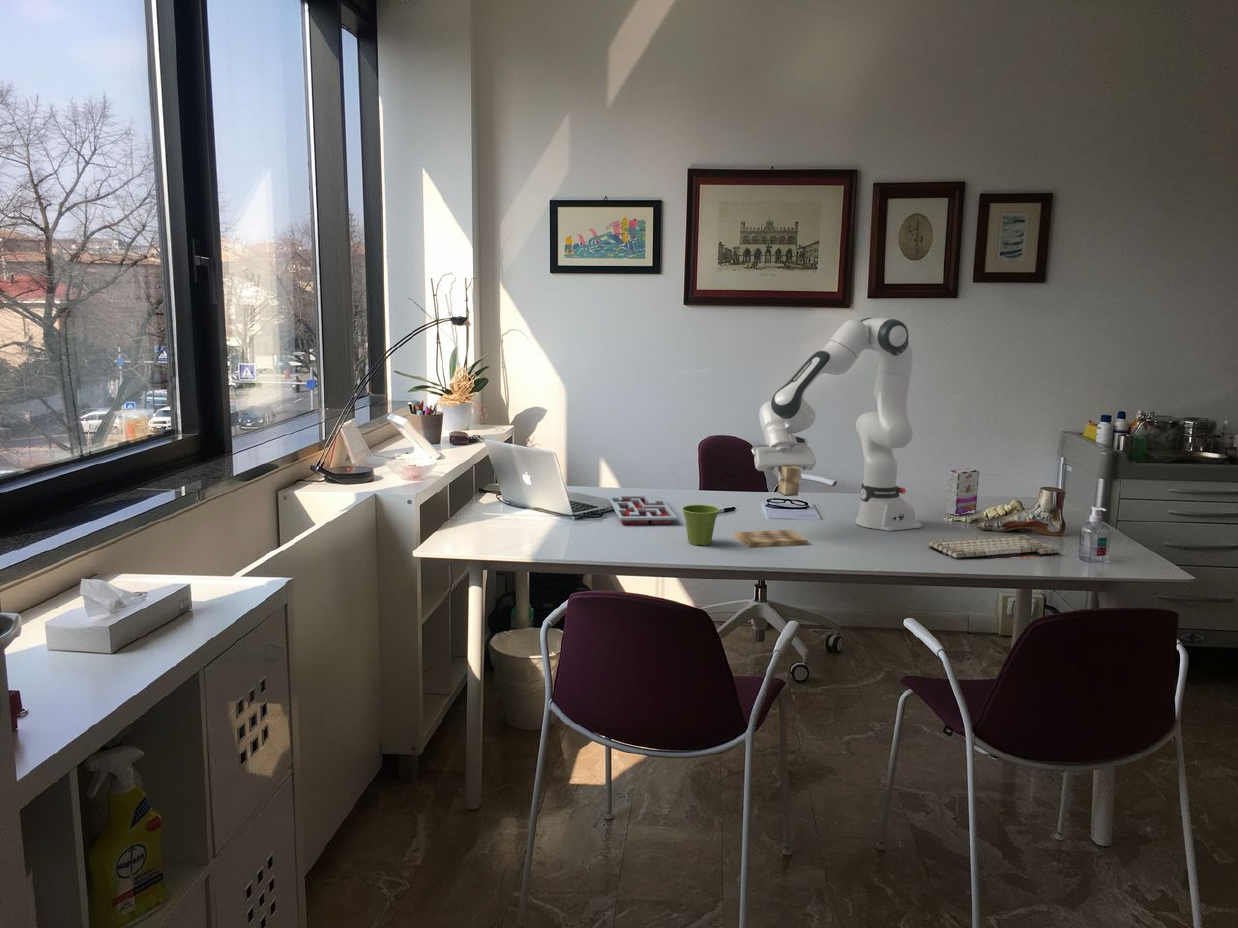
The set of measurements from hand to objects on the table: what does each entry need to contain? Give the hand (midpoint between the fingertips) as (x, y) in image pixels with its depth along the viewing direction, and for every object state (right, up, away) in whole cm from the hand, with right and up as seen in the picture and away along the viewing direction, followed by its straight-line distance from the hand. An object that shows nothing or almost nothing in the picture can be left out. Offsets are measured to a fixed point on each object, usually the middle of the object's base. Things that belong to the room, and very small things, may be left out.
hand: (790, 479), depth 312 cm
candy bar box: (+71, -13, +47) cm, 87 cm away
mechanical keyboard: (+64, -23, -4) cm, 68 cm away
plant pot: (-30, -20, -4) cm, 36 cm away
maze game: (-47, -13, +34) cm, 60 cm away
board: (-6, -20, +1) cm, 21 cm away
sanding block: (0, -5, +2) cm, 5 cm away
